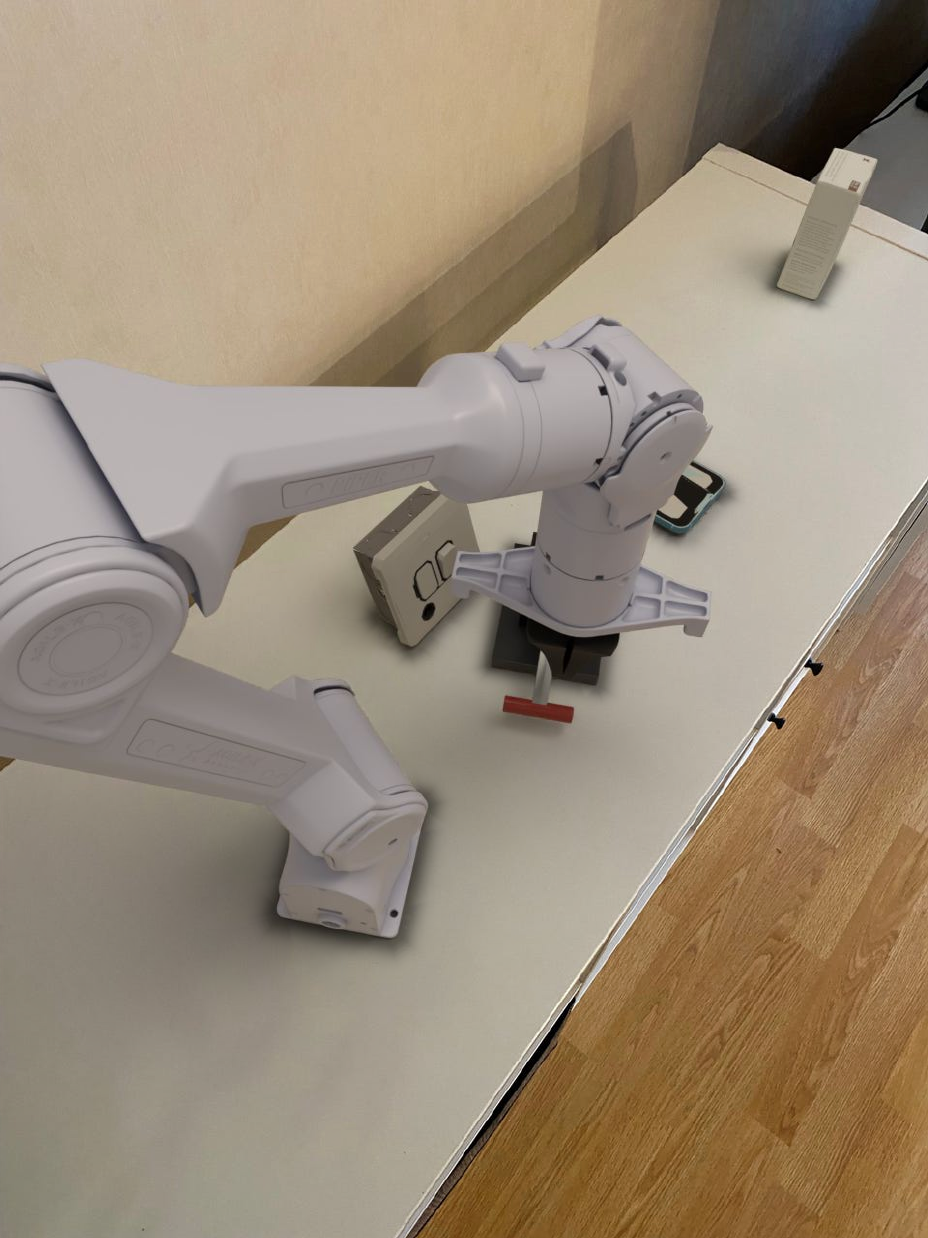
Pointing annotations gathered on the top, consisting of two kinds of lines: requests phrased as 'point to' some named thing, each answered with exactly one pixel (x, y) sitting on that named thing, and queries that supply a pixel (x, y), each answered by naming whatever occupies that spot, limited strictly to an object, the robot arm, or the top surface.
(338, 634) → the top surface
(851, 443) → the top surface
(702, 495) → the smartphone
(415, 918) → the top surface
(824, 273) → the cosmetic box
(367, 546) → the electrical switch
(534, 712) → the switch lever
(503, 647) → the electrical switch base
